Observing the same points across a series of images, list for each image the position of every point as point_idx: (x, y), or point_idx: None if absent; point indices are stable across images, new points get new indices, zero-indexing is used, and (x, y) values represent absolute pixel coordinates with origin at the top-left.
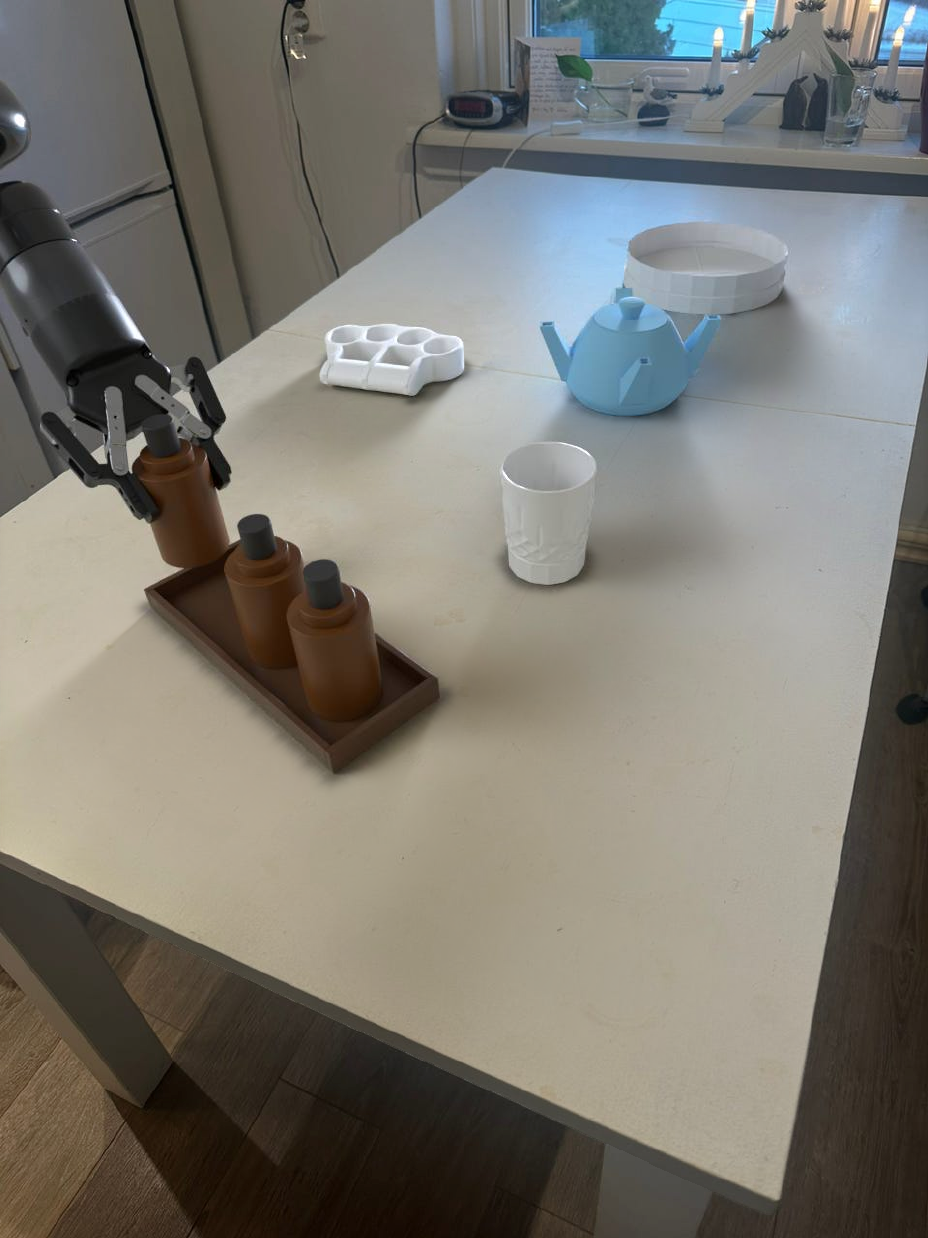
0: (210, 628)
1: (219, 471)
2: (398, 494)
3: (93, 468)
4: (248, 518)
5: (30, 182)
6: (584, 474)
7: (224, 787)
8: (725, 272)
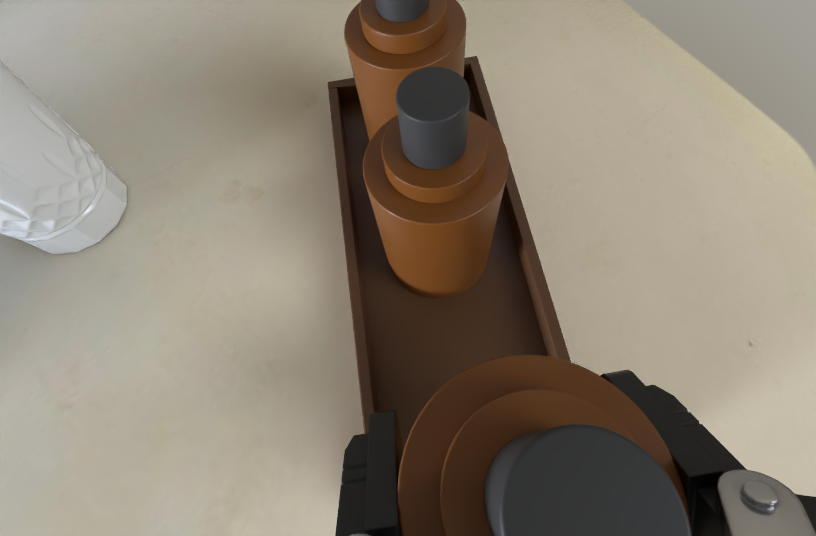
0: (517, 345)
1: (388, 428)
2: (59, 514)
3: None
4: (435, 110)
5: None
6: None
7: (578, 115)
8: None
